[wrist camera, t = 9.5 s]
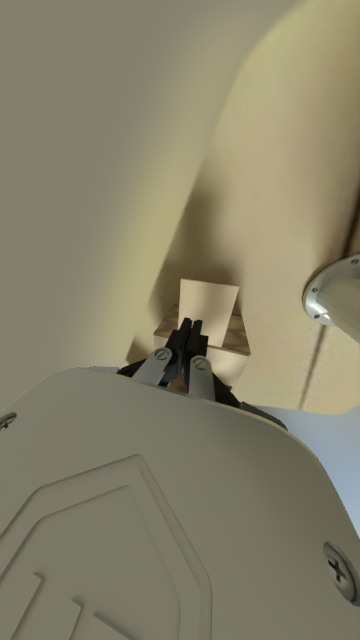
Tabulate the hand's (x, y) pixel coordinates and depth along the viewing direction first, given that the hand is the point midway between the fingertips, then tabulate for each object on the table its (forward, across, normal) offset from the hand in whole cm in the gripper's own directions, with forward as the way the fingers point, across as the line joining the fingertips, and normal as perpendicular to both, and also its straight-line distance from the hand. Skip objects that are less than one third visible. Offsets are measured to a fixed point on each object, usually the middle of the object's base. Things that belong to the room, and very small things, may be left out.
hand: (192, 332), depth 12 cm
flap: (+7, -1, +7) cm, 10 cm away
